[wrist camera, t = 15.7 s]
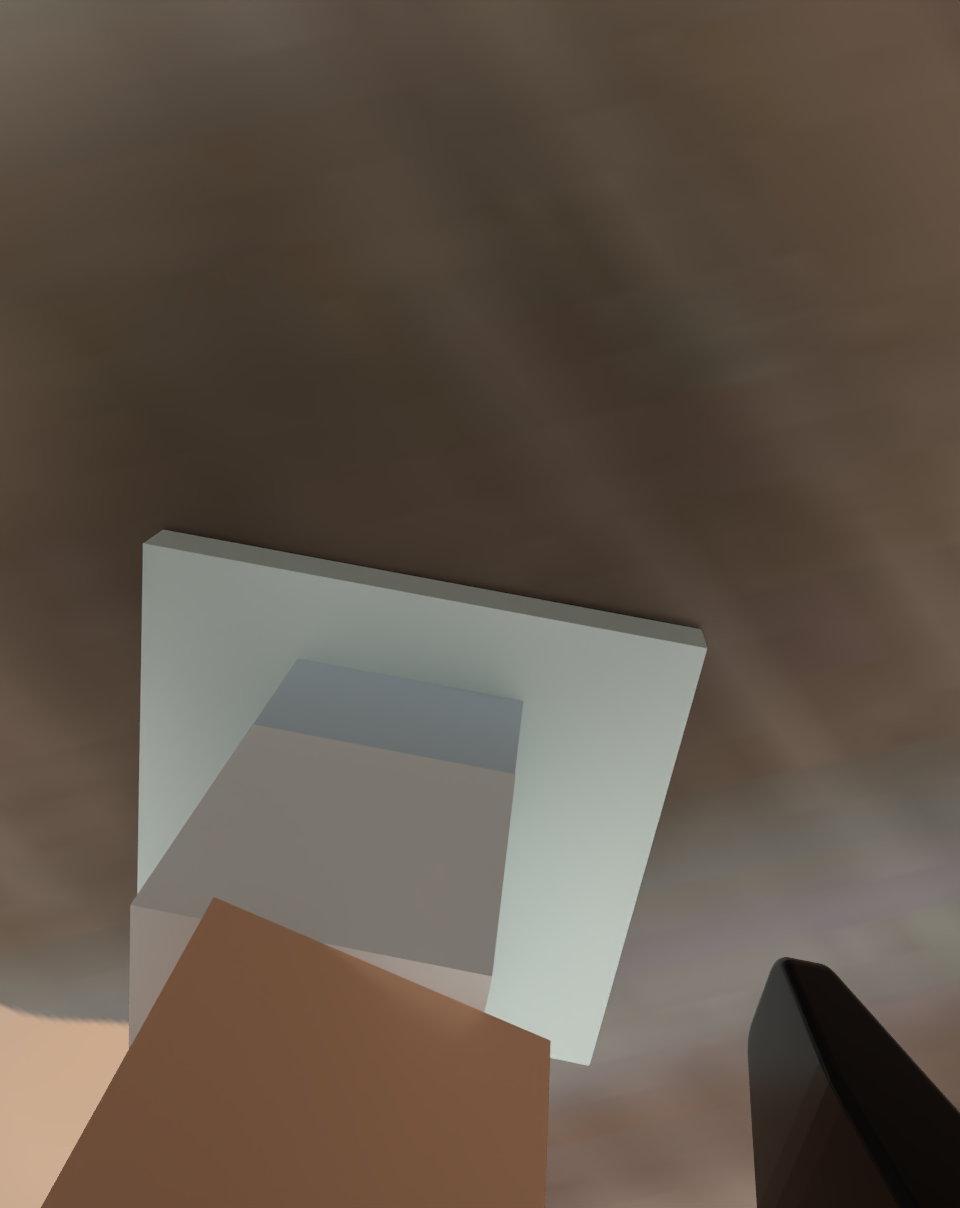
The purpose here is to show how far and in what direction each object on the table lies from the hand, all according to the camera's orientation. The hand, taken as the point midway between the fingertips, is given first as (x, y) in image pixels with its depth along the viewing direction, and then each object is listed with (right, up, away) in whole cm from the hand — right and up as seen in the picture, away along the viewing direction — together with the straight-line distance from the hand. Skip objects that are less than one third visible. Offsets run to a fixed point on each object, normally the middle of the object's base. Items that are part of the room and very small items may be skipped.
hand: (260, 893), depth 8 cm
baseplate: (0, -2, +14) cm, 14 cm away
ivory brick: (-1, -4, +10) cm, 11 cm away
